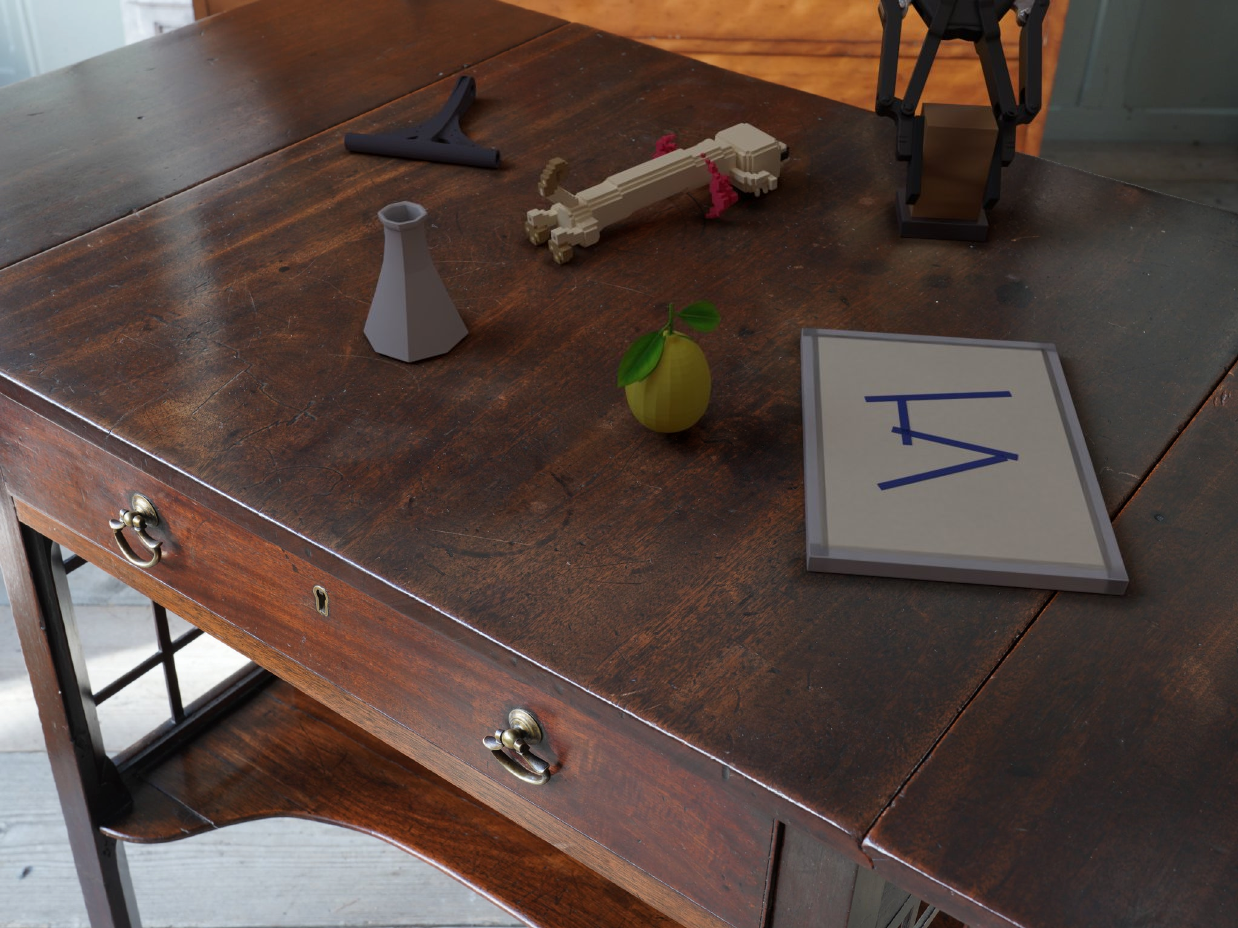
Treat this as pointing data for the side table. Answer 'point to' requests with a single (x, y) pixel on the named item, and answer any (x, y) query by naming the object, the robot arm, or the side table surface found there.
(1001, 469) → the board
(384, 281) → the flask
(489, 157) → the bracket
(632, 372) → the lemon
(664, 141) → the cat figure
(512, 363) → the side table surface
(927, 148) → the eraser
